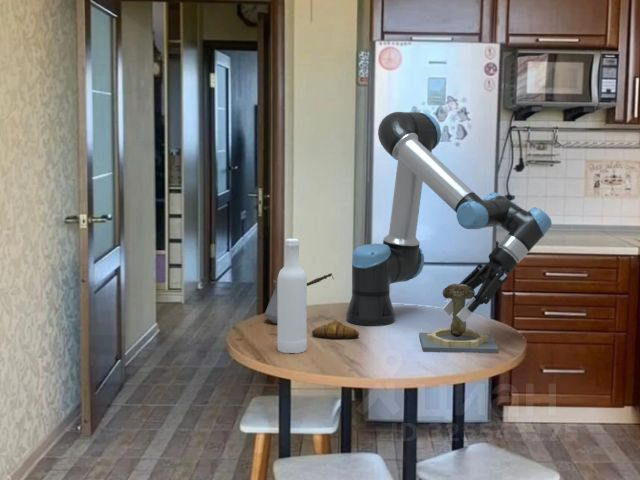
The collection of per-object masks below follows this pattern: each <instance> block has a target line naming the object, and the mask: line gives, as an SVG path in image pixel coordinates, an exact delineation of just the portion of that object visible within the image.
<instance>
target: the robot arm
mask: <svg viewBox="0 0 640 480" xmlns="http://www.w3.org/2000/svg"><path fill="white" fill-rule="evenodd" d="M377 129H378V130H377V136H378V141H379V143H380V145H381V146H382V147H383V149H384V150H385V152H387V153H388V154H389V155H390V156H391V157H392V158H393V159H394V160H396V161H397V165H396V173H395V182H394V190H393V191H394V192H393V197H392V206H391V208H392V209H391V215H390V216H391V217H390V222H389V232H388V234H387V235H386V236H384V237H383V242H382V243H371V244H363V245H360V246H358V247H355V249H354V250H353V253H352V260H351V264H352V266H351V268H352V270H351V273H352V274H351V280H352V281H351V283H352V284H351V286H352V289H351V295H352V296H351V298H350V301H349V303H348V307H347V310H346V317H345V318H346V320H345V321H346V322H348V323H351V324H354V325H360V326H372V327H373V326H374V327H375V326H385V325H390V324H393V323H394V322H395V321H396V313H395V311H394V310H395V309H394V307H393V304H392V301H391V300H392V299H391V296H390V295H391V294H390V291H391V288H390V287H391V284H395V283H401V282H403V283H404V282H408V281H410V280H413V279H415V278H416V277H418V276H419V275H420V274H421V272H422V271H423V268H424V266H425V265H424V264H425V256H424V253H423V251H422V249H421V248H420V245H421V244H420V241H419V240H418V238H417V230H418V223H419V222H418V221H419V216H420V215H419V214H420V205H421V199H422V193H423V185H424V184H423V183H425V185H426V186H427V187H429V189H431V190H432V192H434V193H435V194H436V195H437V196H438V197H439V198H440V199H441V200H442V201H444V203H446V204H447V205H448V206H449V207H450V208H451V209H452V211H454V212H455V213H456V219H457V222H458V224H459V225H460V226H461V227H462V229H463V228H464V229H466V230H481V229H484V228H490V227H491V228H492V227H493V228H494V227H498V226H499V227H501V229H504V230H505V231H507V232H508V233H507V234H506V236H504V237H503V239H502V240H501V241H500V242H499V243H498V244H497V247H495V248H494V249H493V250H491V252H490V253H489V255H488V260H489V261H488V263H486V264H485V265H482V263H479V264H478V265H477V266H475V268H474V269H473V270H472V271H471V272H470V273H469V274H468V275H467V276H466V277H465V278H464V279H463V280H462V281H461V282H460V283H459V284H464V285H468V286H470V287H472V288H473V290H474V291H475V289H476V288H478V287H479V289H478V292H477V293H476V294H475V295H474V296H473V298H471V299H469V301H467V303H465V306H464V307H463V308H462V310H461V311H460V312H459V313H458V314H457V317H458V318H459V319H460V320H461V321H462V322H465V321H466V322H467V320H468V318H469V317H470V316H471V315H472V314H473V313H474V312H475V311H476V310H477V309H478V307H479V306H480V305H483V304H485V305H488V304H489V302H490V301H491V299H492V298H493V297H494V296H495V294H496V293H497V291H498V290H499V289H500V288H501V286H502V285H503V284H504V283H505V282H506V281H507V280H508V279H509V277H508V275H509V274H510V273H511V272H512V271H513V270H514V269H515V268H516V267H517V266H518V265H517V264H519V263H520V262H521V261H522V260H523V259H525V257H526V255H527V254H528V253H529V252H530V251H531V250H532V248H534V247H535V245H536V244H538V243H539V241H540V240H542V238H544V236H545V235H546V233H547V232H548V231H549V229H550V228H551V227H552V224H553V222H552V219H551V217H550V216H549V215H548V214H547V213H546V212H545V211H543V210H542V209H540V208H537V207H531V208H530V209H529V210H525V209H523V207H520V206H519V205H517V204H516V203H515V202H512V201H511V200H509V199H508V198H507V197H505V196H504V195H501V194H499V193H498V192H490V193H489V194H487V195H486V196H485V197H484V198H483V199H482V198H481V197H480V196H479V195H478V194H477V193H475V191H474V190H472V189H471V188H470V187H469V186H468V185H467V184H466V183H465V182H464V181H462V179H460V178H459V177H458V176H457V175H456V173H454V172H453V171H452V170H450V168H448V167H447V166H446V165H445V164H444V163H443V162H442V161H441V160H440V159H439V158H437V157H436V156H435V155H434V154H433V153H432V152H433V151H432V150H434V149H435V148H436V147H437V146H438V145H439V144H440V141H441V137H442V130H441V126H440V123H439V122H438V121H437V119H436V118H435V117H434V116H433V115H431V114H428V113H425V112H419V111H418V112H414V111H413V112H412V111H411V112H410V111H405V112H404V111H394V112H391V113H389V114H387V115H386V116H384V117H383V118H382V120H381V121H380V123H379V126H378V128H377ZM480 285H481V286H480ZM442 310H443V311H444V312H445V313H446V314H447V315H448V316H451V315H452V314H453V302H452V299H449V301H448V302H447V303H446V304H445V305H444V306H443V307H442Z"/></svg>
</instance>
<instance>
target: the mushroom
mask: <svg viewBox="0 0 640 480" xmlns="http://www.w3.org/2000/svg"><path fill="white" fill-rule="evenodd" d="M474 295H476V292H475V289H474V290H473V288H472V287H470V286H468V285H464V284H460V283H452V284H449V285H448V286H446V287H445V288H444V289H443V290H442V296H443V298H444V299H449V300H451V299H452V302H453V312H452V322H451V324H450V328H449V329H451V332H450V333H451V334H452V336H455V337H460V336H461V335H462V334H463V333H464V332H465V330H466V329H467V320H466V321H465V322H462V321H461V320H460V319H459V318H458V317H457V314H458V313H459V312H460V311H461V310H462V308H463V307H464V306H465V305H466V300H471V298H474V297H473V296H474Z"/></svg>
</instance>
